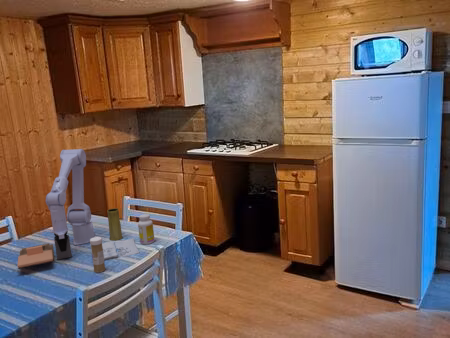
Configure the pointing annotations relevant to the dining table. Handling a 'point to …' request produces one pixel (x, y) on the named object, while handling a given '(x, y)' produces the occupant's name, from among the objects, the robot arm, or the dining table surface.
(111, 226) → the vase
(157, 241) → the dining table surface
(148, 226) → the supplement bottle
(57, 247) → the plug
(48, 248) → the socket
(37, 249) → the panel
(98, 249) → the sprinkles bottle
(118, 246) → the open book
